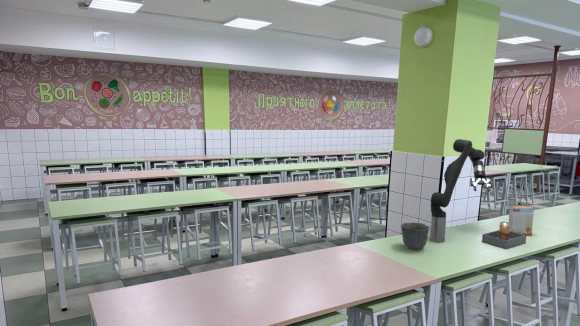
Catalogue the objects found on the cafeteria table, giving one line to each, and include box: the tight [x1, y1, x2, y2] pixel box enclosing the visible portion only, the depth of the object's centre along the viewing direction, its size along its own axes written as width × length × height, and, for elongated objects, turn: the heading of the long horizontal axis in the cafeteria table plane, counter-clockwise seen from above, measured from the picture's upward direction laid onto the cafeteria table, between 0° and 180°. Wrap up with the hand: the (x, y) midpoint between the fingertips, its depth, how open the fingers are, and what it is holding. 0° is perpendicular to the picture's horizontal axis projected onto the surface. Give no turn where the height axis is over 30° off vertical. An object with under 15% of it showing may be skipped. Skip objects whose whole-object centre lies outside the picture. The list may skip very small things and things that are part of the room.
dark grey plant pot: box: [400, 222, 431, 250], centre depth 229 cm, size 18×18×15 cm
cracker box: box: [508, 205, 534, 237], centre depth 258 cm, size 14×6×21 cm, turn 84°
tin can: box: [498, 221, 510, 240], centre depth 241 cm, size 6×6×13 cm
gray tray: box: [481, 229, 527, 250], centre depth 241 cm, size 24×16×6 cm, turn 120°
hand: (482, 191), depth 252 cm, fingers open, 8 cm apart
